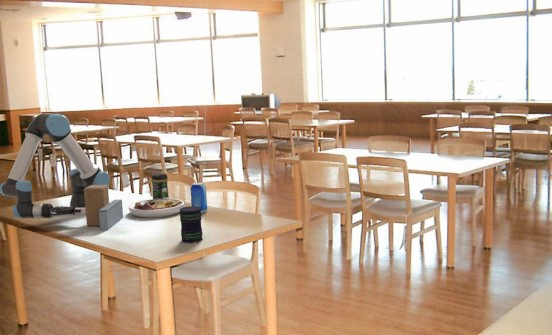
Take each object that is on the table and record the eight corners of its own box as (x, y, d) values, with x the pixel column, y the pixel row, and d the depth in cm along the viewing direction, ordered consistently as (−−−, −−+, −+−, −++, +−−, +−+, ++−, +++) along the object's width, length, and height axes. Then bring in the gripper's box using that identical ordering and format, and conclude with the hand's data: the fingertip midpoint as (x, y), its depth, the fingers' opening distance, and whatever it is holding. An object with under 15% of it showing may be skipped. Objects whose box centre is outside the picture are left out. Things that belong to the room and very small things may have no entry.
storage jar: (202, 242, 299) (200, 210, 296) (180, 243, 298) (178, 211, 296) (203, 236, 309) (201, 205, 306) (182, 238, 308) (180, 206, 306)
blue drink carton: (189, 213, 360) (187, 184, 357) (196, 209, 367) (195, 181, 365) (202, 214, 357) (201, 185, 354) (210, 210, 364) (208, 182, 362)
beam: (115, 218, 355) (114, 199, 353) (123, 217, 354) (121, 199, 353) (100, 230, 329) (98, 210, 328) (108, 229, 329) (106, 210, 327)
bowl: (142, 206, 382) (141, 193, 381) (191, 207, 376) (190, 193, 375) (120, 218, 354) (119, 204, 352) (172, 219, 347) (171, 205, 346)
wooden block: (105, 226, 337) (102, 187, 334) (86, 226, 338) (83, 188, 334) (111, 221, 347) (108, 184, 344) (92, 222, 347) (89, 184, 344)
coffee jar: (150, 204, 388) (148, 173, 385) (162, 201, 394) (160, 171, 391) (160, 206, 381) (158, 174, 379) (171, 203, 387) (169, 172, 384)
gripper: (49, 215, 350) (92, 215, 348) (38, 220, 337) (83, 220, 335) (48, 201, 349) (91, 201, 347) (37, 206, 336) (82, 205, 334)
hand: (87, 210), depth 341 cm, fingers closed
